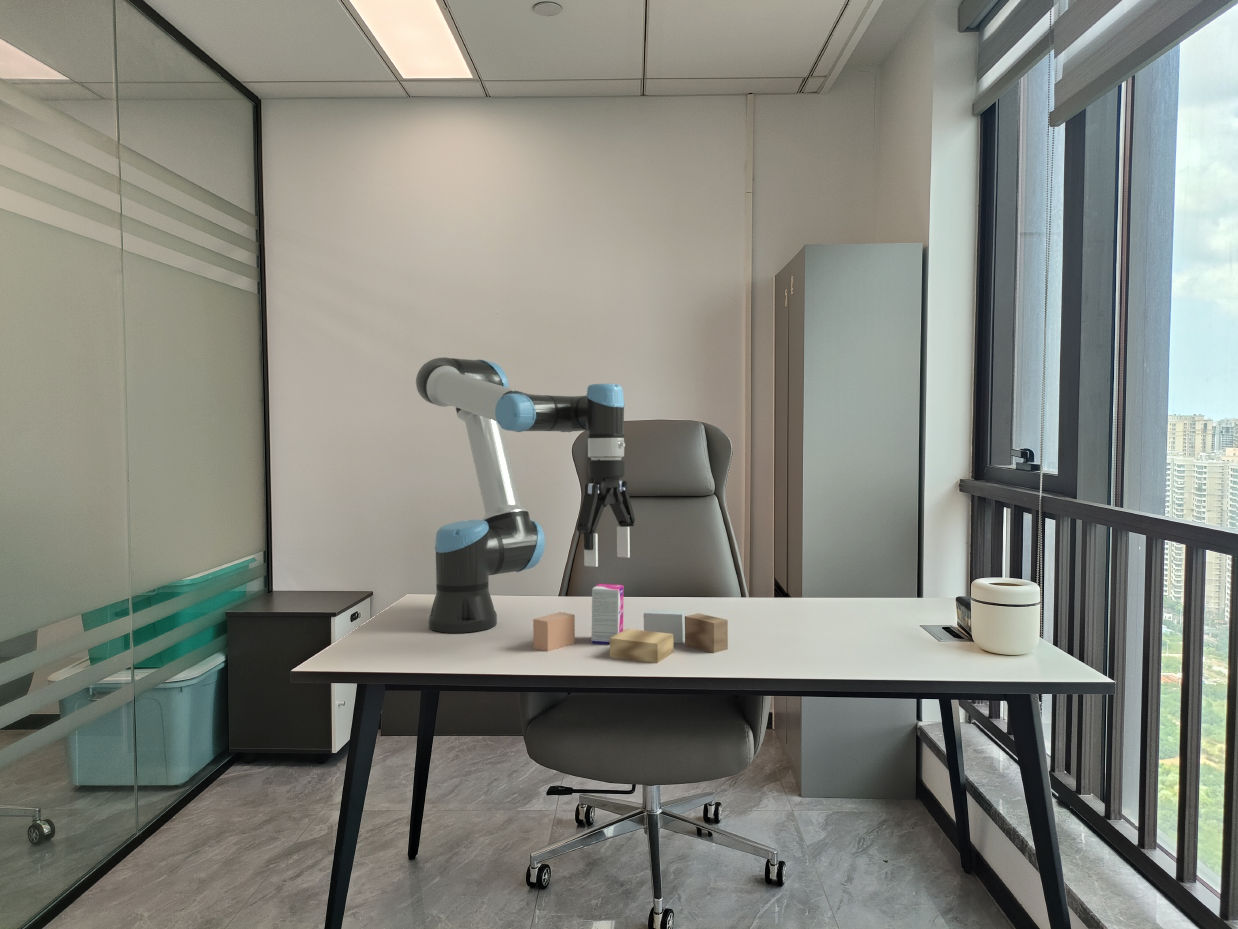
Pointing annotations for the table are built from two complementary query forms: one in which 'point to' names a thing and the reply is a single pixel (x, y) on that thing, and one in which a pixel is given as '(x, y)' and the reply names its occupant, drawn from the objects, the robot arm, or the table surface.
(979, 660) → the table surface
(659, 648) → the oak block
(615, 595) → the supplement box
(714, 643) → the walnut brick
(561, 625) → the terracotta brick
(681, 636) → the grey painted brick
